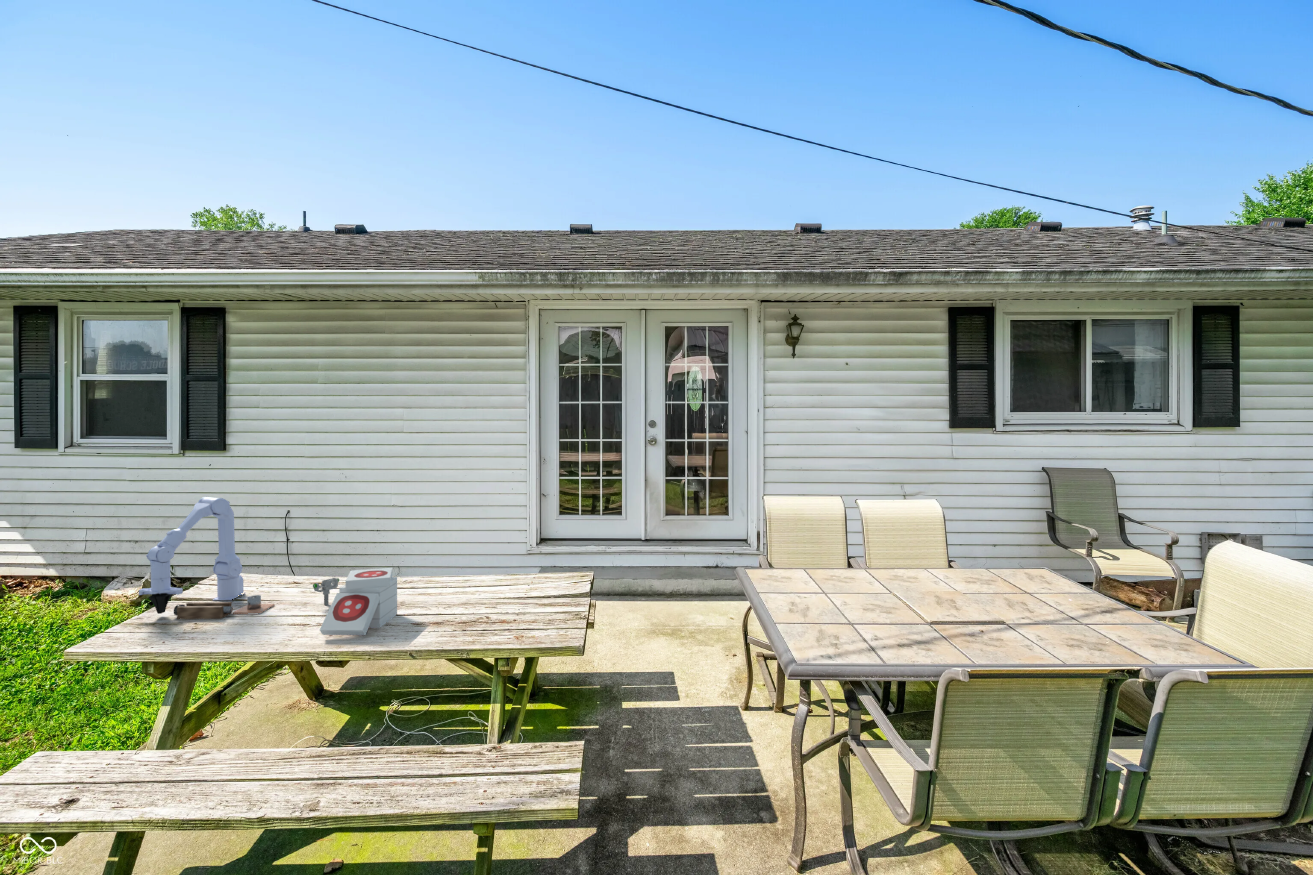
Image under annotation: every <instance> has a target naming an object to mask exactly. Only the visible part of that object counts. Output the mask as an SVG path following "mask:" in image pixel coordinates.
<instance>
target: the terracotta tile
mask: <svg viewBox="0 0 1313 875" xmlns="http://www.w3.org/2000/svg"><path fill="white" fill-rule="evenodd" d="M270 607H271V608H273V607H275V603H261V608H259V609H254V610H248V609H247V604H246V605H244V606H242V607H240V608H238V609H236V610H234V611H232V615H249V614H248V613H261V614H262V613H264V612H266V611H268V610H269V609H268V608H270ZM271 608H270V609H271ZM267 609H268V610H267ZM265 610H266V611H265ZM263 611H264V612H263Z"/></svg>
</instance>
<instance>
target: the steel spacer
mask: <svg viewBox="0 0 1313 875" xmlns="http://www.w3.org/2000/svg"><path fill="white" fill-rule="evenodd" d="M261 604H262V595H261V594H256V595H254V594H253V595H249V596H247V597H246V605H247V609H248V610H254V609H259V608H261Z"/></svg>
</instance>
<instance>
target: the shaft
mask: <svg viewBox="0 0 1313 875" xmlns="http://www.w3.org/2000/svg"><path fill="white" fill-rule="evenodd" d="M179 606H186V605H185V604H176V606H175V607H174V608H173V615H174V616H176V617H177V607H179ZM233 610H234V607H233V606H223V613H231V612H232V613H233V612H234V611H233Z"/></svg>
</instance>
